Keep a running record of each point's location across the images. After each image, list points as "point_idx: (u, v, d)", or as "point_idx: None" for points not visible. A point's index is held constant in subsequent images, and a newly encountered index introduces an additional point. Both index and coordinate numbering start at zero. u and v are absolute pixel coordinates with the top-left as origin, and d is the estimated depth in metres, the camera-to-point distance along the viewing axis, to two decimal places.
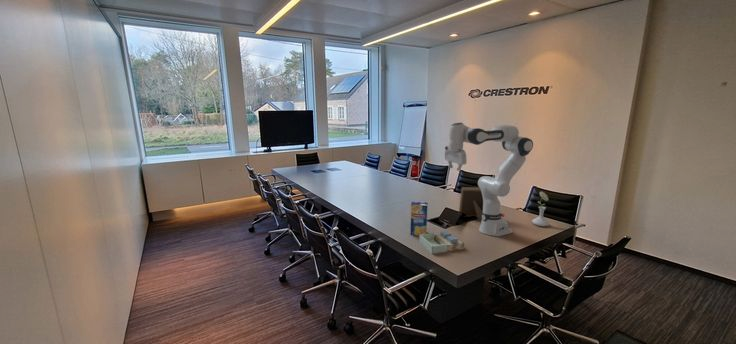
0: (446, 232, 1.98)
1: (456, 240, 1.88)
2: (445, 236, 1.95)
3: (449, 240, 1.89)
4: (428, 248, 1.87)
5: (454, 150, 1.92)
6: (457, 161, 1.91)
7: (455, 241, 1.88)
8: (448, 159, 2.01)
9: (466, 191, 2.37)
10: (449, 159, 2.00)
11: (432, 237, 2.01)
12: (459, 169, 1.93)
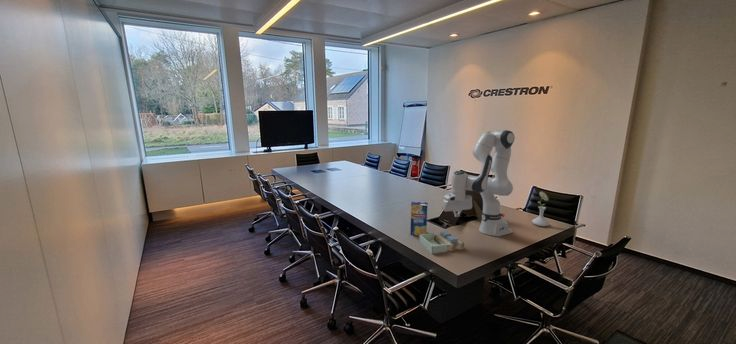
0: (446, 232, 1.98)
1: (456, 240, 1.88)
2: (445, 236, 1.95)
3: (449, 240, 1.89)
4: (428, 248, 1.87)
5: (464, 198, 1.93)
6: (466, 207, 1.96)
7: (455, 241, 1.88)
8: (451, 209, 1.93)
9: (466, 191, 2.37)
10: (453, 209, 1.94)
11: (432, 237, 2.01)
12: None
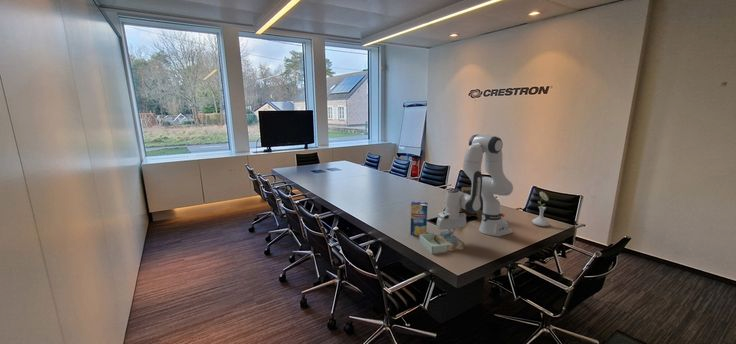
0: (446, 232, 1.98)
1: (456, 240, 1.88)
2: (445, 236, 1.95)
3: (449, 240, 1.89)
4: (428, 248, 1.87)
5: (458, 216, 1.94)
6: (460, 225, 1.97)
7: (455, 241, 1.88)
8: (445, 227, 1.95)
9: (466, 191, 2.37)
10: (447, 227, 1.95)
11: (432, 237, 2.01)
12: None
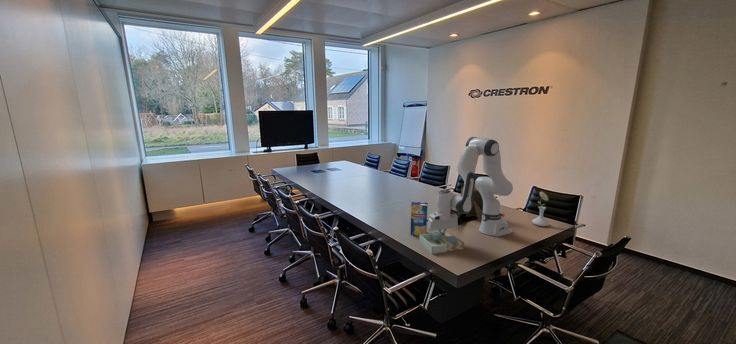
0: (437, 233, 1.96)
1: (456, 240, 1.88)
2: (436, 237, 1.93)
3: (449, 240, 1.89)
4: (428, 248, 1.87)
5: (450, 217, 1.93)
6: (451, 226, 1.96)
7: (455, 241, 1.88)
8: (436, 228, 1.93)
9: None
10: (438, 228, 1.93)
11: None
12: None
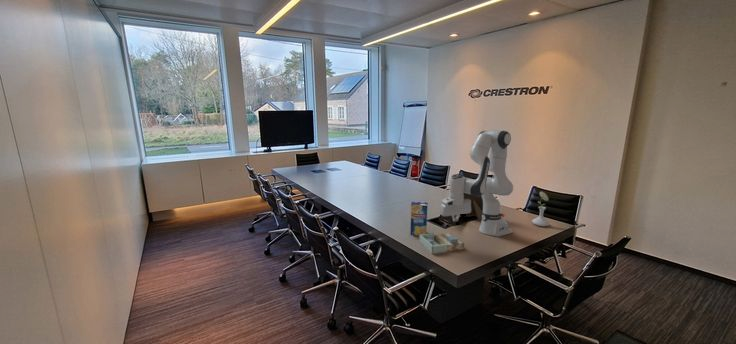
0: None
1: (456, 240, 1.88)
2: (432, 242, 1.93)
3: (449, 240, 1.89)
4: (428, 248, 1.87)
5: (463, 202, 1.87)
6: (464, 211, 1.90)
7: (455, 241, 1.88)
8: (449, 214, 1.88)
9: None
10: (451, 213, 1.88)
11: (432, 237, 2.01)
12: None
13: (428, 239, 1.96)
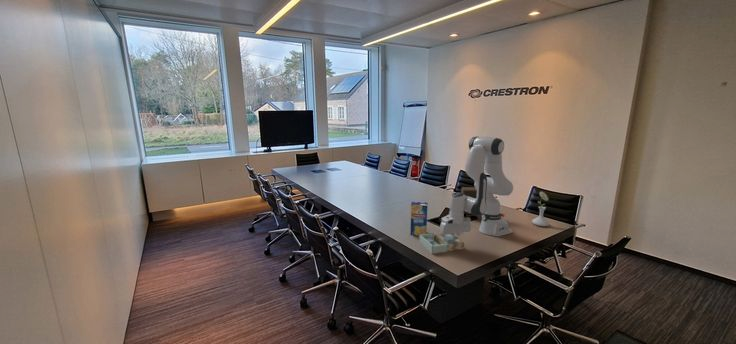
0: None
1: (453, 240, 1.88)
2: (432, 242, 1.93)
3: (446, 240, 1.88)
4: (428, 248, 1.87)
5: (463, 221, 1.86)
6: (464, 230, 1.89)
7: (452, 241, 1.88)
8: (449, 232, 1.86)
9: (466, 191, 2.37)
10: (451, 232, 1.87)
11: (432, 237, 2.01)
12: None
13: (428, 239, 1.96)
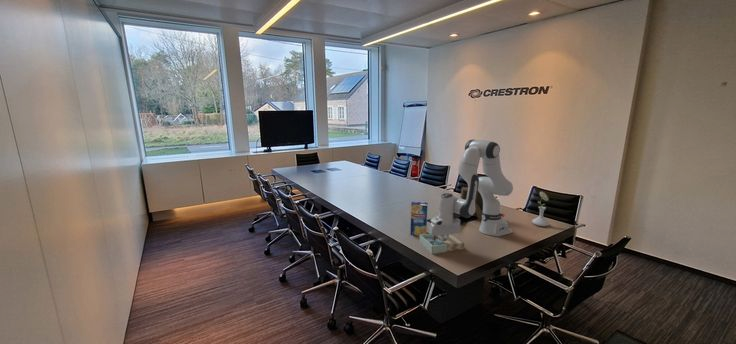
0: None
1: (440, 244, 1.86)
2: (432, 242, 1.93)
3: None
4: (428, 248, 1.87)
5: (452, 222, 1.84)
6: (454, 231, 1.87)
7: (441, 244, 1.86)
8: (438, 234, 1.85)
9: (466, 191, 2.37)
10: (440, 233, 1.85)
11: (432, 237, 2.01)
12: None
13: (428, 239, 1.96)
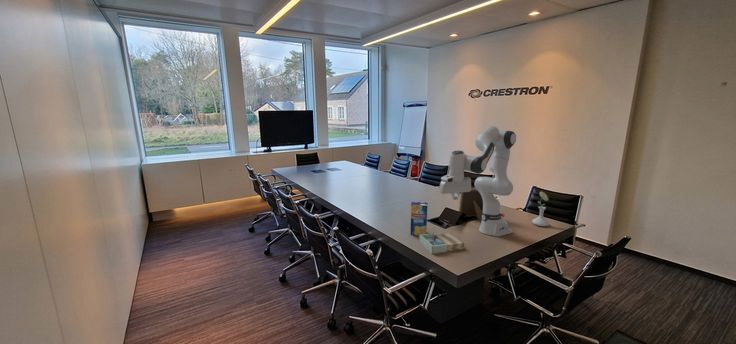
0: None
1: (440, 244, 1.86)
2: (432, 242, 1.93)
3: None
4: (428, 248, 1.87)
5: (463, 179, 1.82)
6: (464, 190, 1.85)
7: (441, 244, 1.86)
8: (449, 191, 1.82)
9: None
10: (451, 191, 1.82)
11: (432, 237, 2.01)
12: None
13: (428, 239, 1.96)
